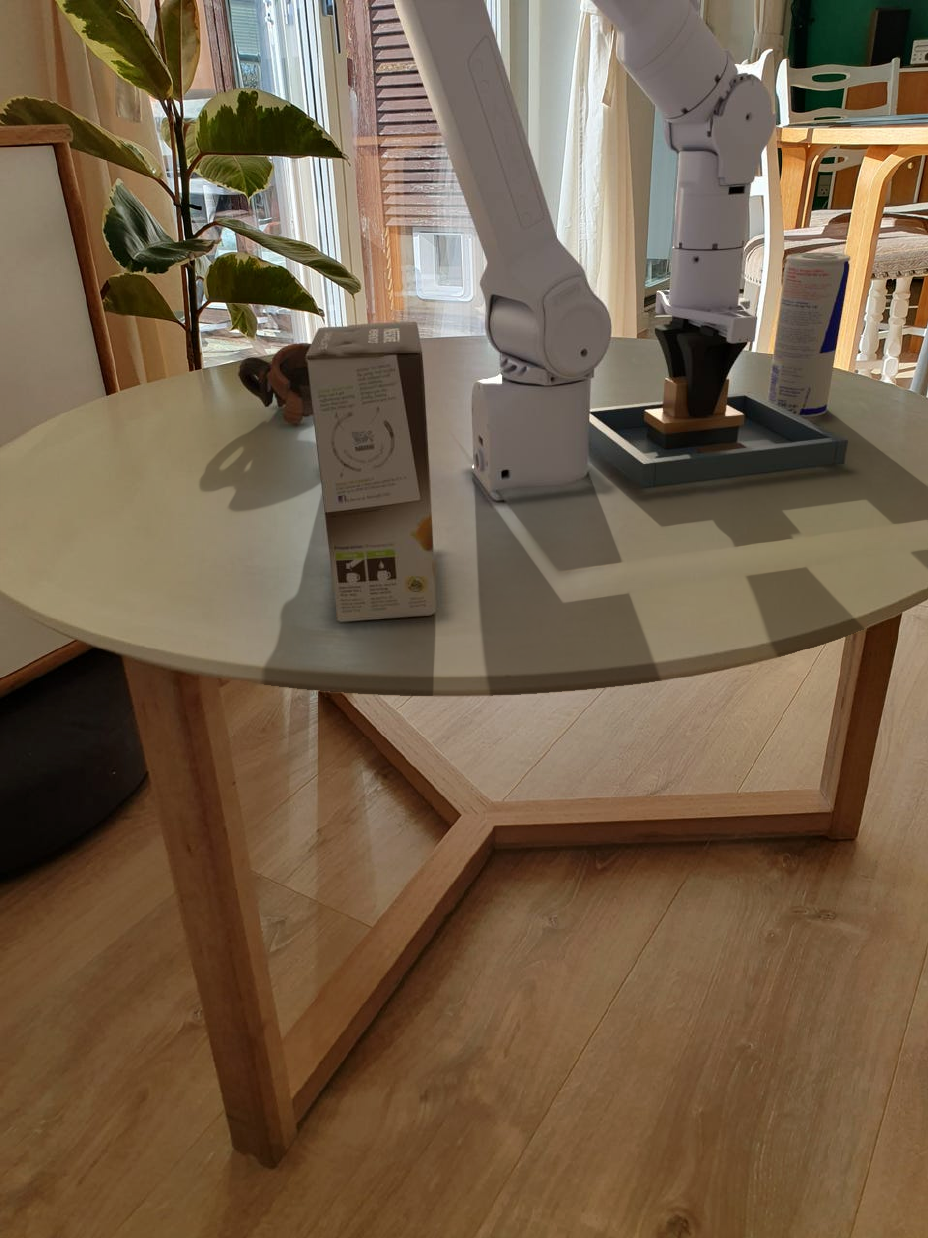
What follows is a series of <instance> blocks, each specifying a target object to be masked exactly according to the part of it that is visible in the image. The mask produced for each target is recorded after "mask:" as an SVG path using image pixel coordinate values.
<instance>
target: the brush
mask: <svg viewBox="0 0 928 1238" xmlns="http://www.w3.org/2000/svg"><path fill="white" fill-rule="evenodd" d="M663 385H664V387H663V399H662V401H663V408H659V409H650V410H645V411H644V421H645V422H647V423H648V428H647V437H648V438H649V439H651V440H652V441H654V442H655V443H656V444H658V445H659V446H661V447H662V448H663V449H665V450H668V449H676V448H685V447H693V446H701V445H710V444H718V443H727V442H735V441H737V439H738V430H739V426H741V425H744V416H745V414H743V413H741V412H739V411H737V410H735V409H733V408H732V407H730V406H728V405H727V397H728V394H729V386H730V378H728V377H727V378H726V381H725V383H724V386H723V389H722V391H721V394H720V397H719V400H718V403H717V405H716V408H715V411H714V413H713V415H705V416H696V417H692V416H690V415H689V412H688V406H687V378H686V376H681V377H671V378H669V377H665V378H664V384H663Z"/></svg>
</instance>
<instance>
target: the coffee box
mask: <svg viewBox="0 0 928 1238" xmlns="http://www.w3.org/2000/svg"><path fill="white" fill-rule="evenodd" d="M310 344H311V346H310V348H309V350H308V352H307V354H306V357H305V360H306V363H307V369H308V376H309V385H310V393H311V401H312V409H313V414H312V417H313V424H314V425H313V427H314V435H315V443H316V454H317V460H318V466H319V467H318V469H319V476H320V477H319V478H320V485H321V492H322V501H323V502H322V503H323V511H324V519H325V528H326V536H327V537H326V538H327V545H328V552H329V561H330V569H331V578H332V586H333V595H334V601H335V602H334V603H335V604H334V605H335V612H336V620H337V621H338V622H341V623H343V622H344V623H345V622H357V621H358V622H359V621H369V620H370V621H371V620H385V619H397V618H413V617H429V616H432V615H434V614H435V613H436V611H437V608H436V607H437V604H436V603H437V602H436V601H437V600H436V599H437V598H436V578H435V575H436V574H435V552H434V551H435V549H434V529H433V528H434V527H433V507H432V490H431V489H432V486H431V470H430V467H431V466H430V452H429V436H428V435H429V434H428V417H427V403H426V399H427V398H426V384H425V371H424V357H423V349H422V348H423V347H422V343H421V338H420V332H419V326H418V323H417V321H396V322H395V321H392V322H375V323H360V324H350V325H345V326H325V327H318V329H317V331H316V332H315V334H314V337H313V339H312V342H311V343H310Z"/></svg>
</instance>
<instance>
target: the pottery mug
mask: <svg viewBox="0 0 928 1238" xmlns="http://www.w3.org/2000/svg"><path fill="white" fill-rule="evenodd" d="M311 344H312V343H308V342H300V343H292V344H288V345H286V346H283V347H282V348H280V349H279V350H278V351H277V352H275V353H274V355H273V356H272V359H271V360H269V359H265V358H263V357H260V356H249V357H246V358H244V359H243V360H242V361H241V363H240V365H239V366H238V368H239V369H238V372H237V376H238V377H239V380H240V382H241V383H242V385H243V386H244V388H246V389H247V391H248V392H250V393H251V394H252V395H254V396H255V397H257V398H259V400H260V401H261V403H262V405H263V406H264V407H265V408H268V407H270V406H271V405H272V404H273V401H274V398H275V399H276V404H277V407H278V408H280V409H281V408H282V407H284V411H283V413H282V416H283V420H284V422H286V423H288V424H290V425H292V426H295V427H297V426H298V425H300V423H301V421H302V420H303V418H304V417H305V418H307V417H309V416H313V409H312V401H311V393H310V385H309V376H308V369H307V363H306V360H305V357H306V354H307V352H308V350H309V348H310V346H311Z"/></svg>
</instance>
